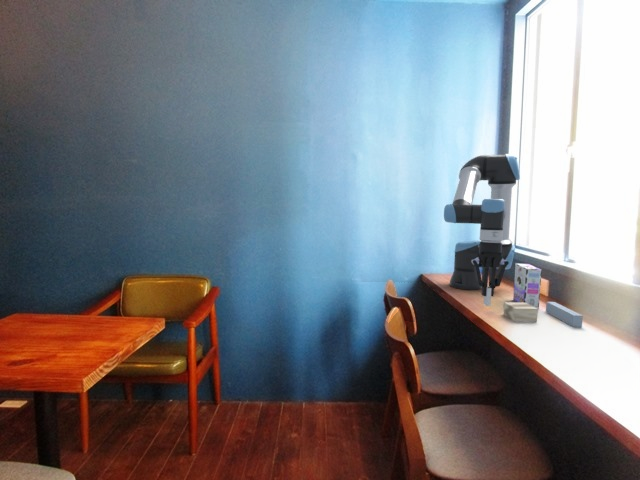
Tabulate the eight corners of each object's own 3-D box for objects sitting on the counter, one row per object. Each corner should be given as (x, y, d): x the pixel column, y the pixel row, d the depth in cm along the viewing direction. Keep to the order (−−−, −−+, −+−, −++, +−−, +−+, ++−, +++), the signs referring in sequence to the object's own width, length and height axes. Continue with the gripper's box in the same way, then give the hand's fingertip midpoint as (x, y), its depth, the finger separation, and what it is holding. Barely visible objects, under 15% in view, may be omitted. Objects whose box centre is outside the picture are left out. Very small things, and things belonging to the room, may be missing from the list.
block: (503, 315, 137) (504, 302, 136) (524, 315, 137) (525, 302, 136) (514, 322, 129) (515, 308, 128) (536, 322, 129) (537, 308, 128)
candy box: (539, 309, 144) (542, 269, 142) (523, 308, 145) (526, 268, 143) (527, 300, 157) (529, 263, 155) (512, 299, 158) (514, 262, 156)
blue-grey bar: (545, 311, 141) (546, 301, 140) (553, 311, 141) (554, 301, 140) (572, 326, 124) (573, 315, 123) (581, 326, 124) (582, 315, 123)
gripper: (476, 242, 128) (472, 306, 130) (514, 242, 127) (509, 308, 129) (468, 240, 135) (465, 301, 137) (504, 240, 134) (500, 302, 136)
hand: (486, 304), depth 133 cm, fingers closed
